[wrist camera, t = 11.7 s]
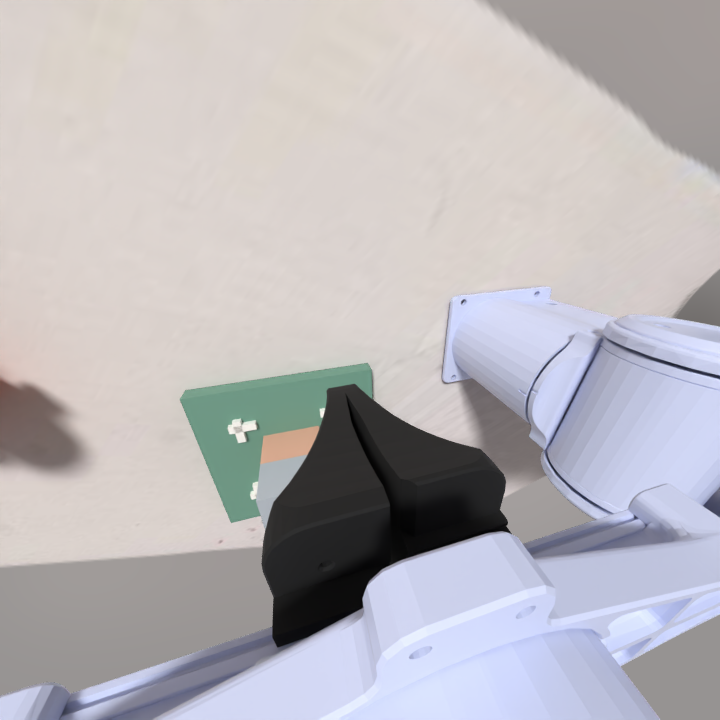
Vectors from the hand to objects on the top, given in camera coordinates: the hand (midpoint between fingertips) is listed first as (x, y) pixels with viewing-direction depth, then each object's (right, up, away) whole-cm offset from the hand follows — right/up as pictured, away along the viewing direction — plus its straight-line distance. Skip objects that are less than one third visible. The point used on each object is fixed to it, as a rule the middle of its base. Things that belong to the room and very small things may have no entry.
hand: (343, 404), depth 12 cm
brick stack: (-5, -6, +11) cm, 13 cm away
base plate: (-5, -5, +12) cm, 14 cm away
